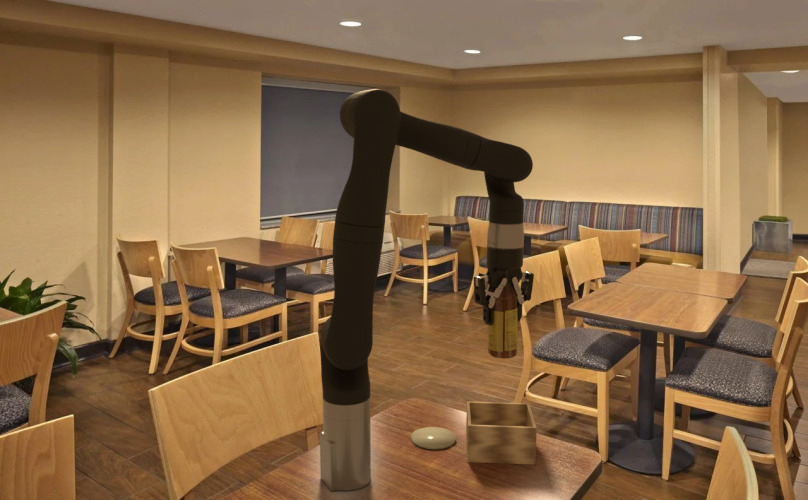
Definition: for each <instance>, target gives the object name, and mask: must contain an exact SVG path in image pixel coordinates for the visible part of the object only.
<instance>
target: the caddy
mask: <svg viewBox="0 0 808 500" xmlns="http://www.w3.org/2000/svg"><path fill="white" fill-rule="evenodd" d="M465 420H466V422H465V423H466V424H465V425H466V426H465V438H466V440H465V441H466V458H467V459H466V460H467V463H484V464H485V463H486V464H509V465H511V464H512V465H514V464H515V465H536V457H537V456H536V453H537V431H538V430H537V429H538V428H537V425H536V421H535V418H534V415H533V412H532V408H531V405H530V403H529V402H528V403H527V402H526V403H525V402H501V401H500V402H499V401H498V402H496V401H495V402H494V401H493V402H492V401H468V400H467V401H466V419H465Z"/></svg>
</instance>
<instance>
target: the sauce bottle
mask: <svg viewBox="0 0 808 500" xmlns="http://www.w3.org/2000/svg"><path fill="white" fill-rule="evenodd" d="M511 271H512V270H503V269H501V270H500V273H501V278H506V279H507V282H506V285H505V286H504V287H503V289H502V292H501V294H500V296H499V298H496V299H495V304H494V306H493V307H492V308H494V318H493V325H487V349H488V354H489V355H490V356H491V357H493V358H497V359H503V360H504V359H512V358H514V357H516V356H517V354H518V351H517V350H518V322H517V294H516V292H515V290H514V288H513V286H512V285H511ZM490 292H492V293H494V292H495V290H492V288H491V291H490ZM490 298H491V296H489V300H490Z"/></svg>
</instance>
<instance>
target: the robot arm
mask: <svg viewBox="0 0 808 500" xmlns="http://www.w3.org/2000/svg"><path fill="white" fill-rule="evenodd" d="M400 109H401V108H400V105H399V103H398V100H397V99H396V97H395V96H394V95H393V94H392V93H390V92H389V91H387V90H385V89H380V88H373V89H366V90H361V91H357V92H355V93H353V94H351V95H349V96H347V97H346V99H345V100H344V101H343V103H342V104H341V107H340V110H339V120H340V123H341V126H342V128H343V130H344V131H345V132H346V133H347V134H348V136H350V137H351V138H352V139H353V149H352V161H351V168H350V171H349V175H348V177H347V181H346V183H345V185H344V188H343V191H342V192H341V195H340V198H339V201H338V204H337V209H336V212H335V219H334V224H333V225H334V227H333V235H332V236H333V237H332V271H333V284H334V286H333V287H334V292H333V302H332V303H333V304H332V309H331V314H330V317H328V318H327V319H326V321H324V323H323V326H322V328H321V330H320V369H321V371H320V373H321V384H322V385H321V387H322V417H323V418H322V430H323V431H321V432H320V433H319V459H320V460H319V464H320V466H319V467H320V469H319V470H320V471H319V472H320V478H321V480H322V481H323V482H324V484H325V485H326V486H327V488H328V489H329V490H330V491H331V492H334V491H354V490H358V489H362V488H364V487H365V486H367V485H368V484H369V483H370V481H371V479H372V472H371V471H372V465H371V464H372V463H371V462H372V458H371V457H372V455H371V454H372V453H371V452H372V451H371V450H372V449H371V441H372V439H371V433H372V432H371V379H370V372H369V357H370V355H371V352H372V350H373V343H374V342H373V340H374V339H373V338H374V337H373V333H374V332H373V326H374V325H373V318H374V317H373V315H374V298H375V290H376V285H377V281H378V274H379V270H380V263H381V256H382V251H383V250H382V249H383V243H384V235H385V234H384V233H385V225H386V214H387V213H386V211H387V204H388V195H389V186H390V185H389V184H390V175H391V168H392V163H393V157H394V154H395V148H396V146H398V147H401V148H405V149H408V150H411V151H412V150H413V151H415V152H417V153H420V154H423V155H426V156H429V157H431V158H435V159H437V160H440V161H442V162H445V163H448V164H449V165H450V164H451V165H454V166H457V167H460V168H463V169H466V170H470V171H476V172H483V173H484V174H483V175H484V180H485V186H486V192H487V195H488V200H489V209H488V210H489V211H488V212H489V213H488V215H489V216H488V227H487V233H486V235H487V236H486V237H487V238H486V239H487V240H486V266H487V267H486V268H487V271H486V273H485V275H482V276H481V275H480V276H479V275H475V276H473V290H474V291H473V294H474V303H475V304H477V305H480V306H482V307H483V308H482V309H483V310H482V311H483V313H482V320H483V322H484V324H485V325H487V326H488V325H493V318H494V308H492V307H493V306H494V304H495V299H496V298H499V296H500V294H501V292H502V289H503V287H504V286H505V285H506V282H507V279H506V278H501V273H500V270H501V269H503V270H512V271H511V285H512V286H513V288H514V290H515V292H516V294H517V323H518V322H520V321H521V319H522V318H523V305H524V303H525V302H527V301H531V299H532V294H533V293H532V291H533V286H534V277H535V274H534V273H533V272H529V271H526V270H524V271H522V267H523V266H524V243H525V241H524V240H525V231H524V215H525V213H524V210H525V209H524V208H525V202H524V198H523V197H522V196H521V195H520V194H518V193H517V192H516V187H515V183H519V182H522V181H524V180H525V179H527V178H529V176H530V175H531V173H532V171H533V168H534V167H533V166H534V162H533V158H532V156H531V154H530V153H529V152H528V151H527V150H525V148H523V147H521V146H518V145H514V144H511V143H506V142H503V141H498V140H496V139H495V140H493V139H490V138H487V137H484V136H482V135H479V134H477V133H475V132H472V131H469V130H466V129H463V128H460V127H457V126H453V125H449V124H446V123H442V122H437V121H433V120H428V119H425V118H420V117H416V116H414V115H411V114H408V113H405V112H403V111H401V110H400ZM520 282H521V283H520ZM519 283H520V284H519ZM486 286H487V288H486ZM491 288H492V290H495V292H494V293H492V292H490V291H491ZM489 296H491V298H490V300H489Z"/></svg>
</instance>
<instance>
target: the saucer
mask: <svg viewBox="0 0 808 500" xmlns="http://www.w3.org/2000/svg"><path fill="white" fill-rule="evenodd" d="M410 436H411V437H410V440H411V442H412V444H414V445H415V446H416V447H420V448H423V449H427V450H442V449H447V448H449V447H452V446H453V445H454V444H455V443H456V440H457V439H456V437H457V436H456V434H455V433H454V432H453V431H451V430H449V429H446V428H444V427H437V426H428V427H427V426H426V427H422V428H418V429H416V430H415V431H413V432H412V433H411V435H410Z"/></svg>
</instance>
